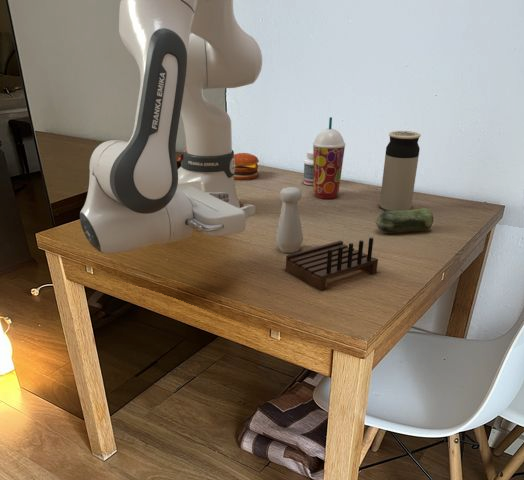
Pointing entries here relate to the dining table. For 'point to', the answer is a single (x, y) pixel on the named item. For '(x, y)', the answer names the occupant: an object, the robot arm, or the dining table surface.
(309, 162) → the pill bottle
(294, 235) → the salt shaker
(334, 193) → the smoothie
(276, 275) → the dining table surface
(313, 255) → the drying rack
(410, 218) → the vegetable
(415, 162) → the travel mug
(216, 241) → the dining table surface
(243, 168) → the hamburger
